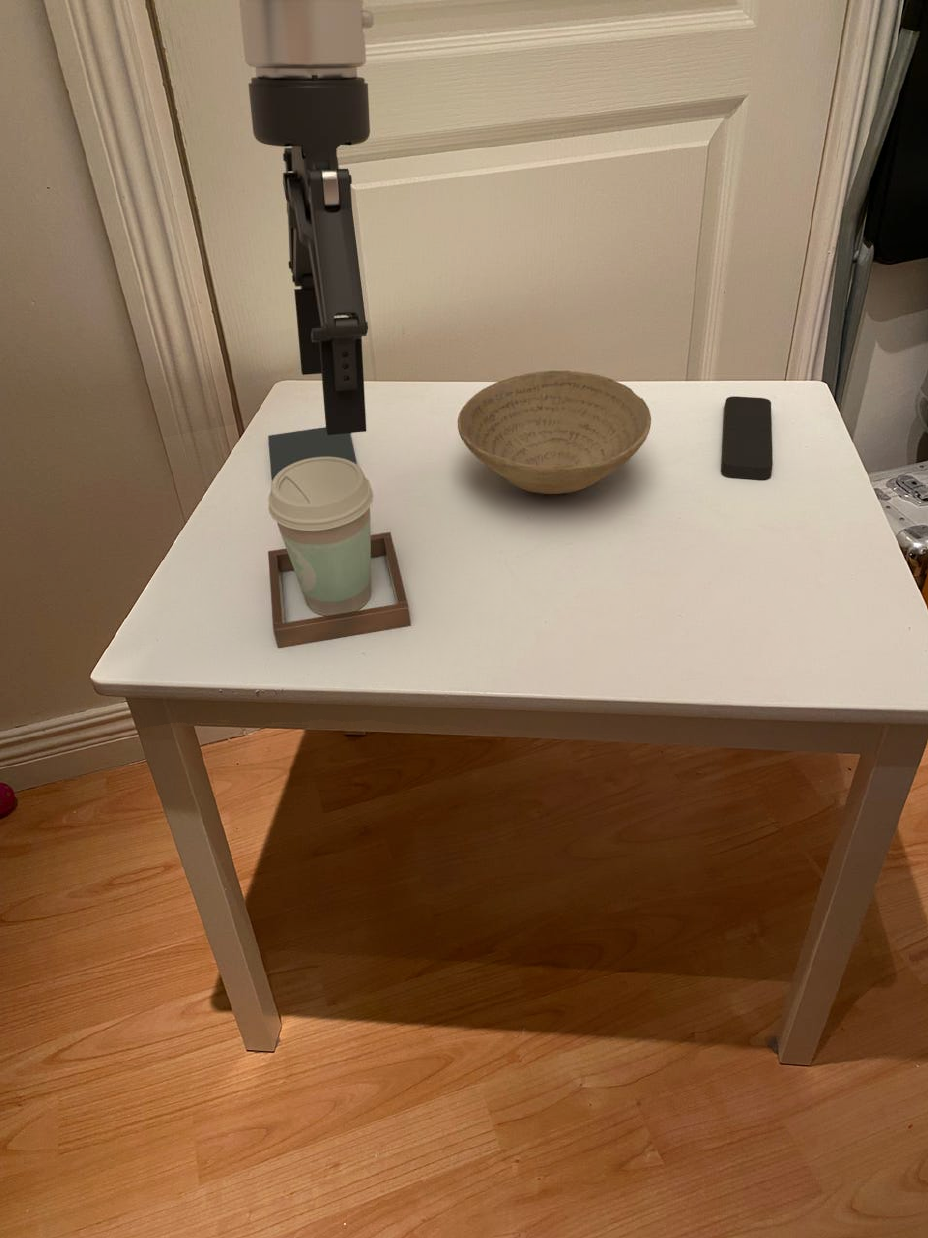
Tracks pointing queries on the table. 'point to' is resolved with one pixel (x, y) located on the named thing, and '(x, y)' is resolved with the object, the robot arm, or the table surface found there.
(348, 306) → the robot arm
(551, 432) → the bowl
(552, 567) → the table surface
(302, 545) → the coffee cup
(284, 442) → the felt mat
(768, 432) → the remote control
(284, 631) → the wooden square frame
